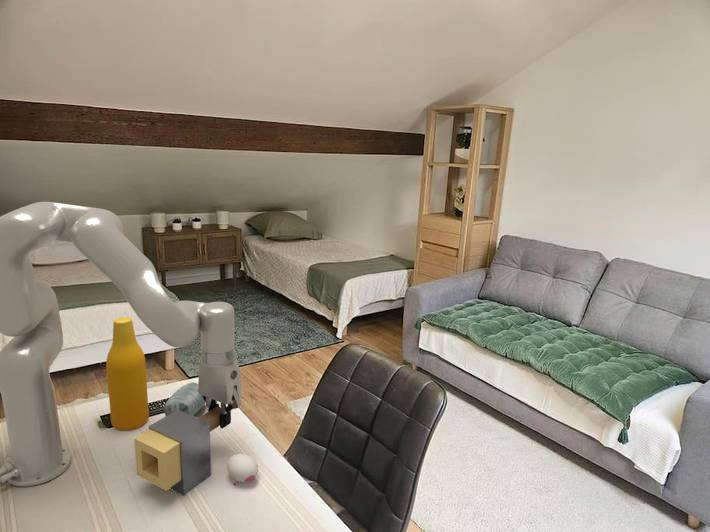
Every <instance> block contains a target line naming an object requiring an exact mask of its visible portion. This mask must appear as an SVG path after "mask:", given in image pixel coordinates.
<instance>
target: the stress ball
mask: <svg viewBox="0 0 710 532" xmlns="http://www.w3.org/2000/svg"><path fill="white" fill-rule="evenodd" d="M226 469H227V472H228V474H229V476H230V477H231V478H232V479H234V480H235V481H234V483H232V485H233V486H235V487H236V486H237V484H236V483H237V482H240V483H248V482H252V481H254V480H255V479H256V477H257V476H258V473H259V465H258V463H257V461H256V459H254V458H253V457H251V456H250V455H247V454H243V453H240V454H239V453H238V454H237V453H236V454H235V455H232V456H231V457H230V458H229V460H228V462H227V466H226Z"/></svg>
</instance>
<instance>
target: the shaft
mask: <svg viewBox="0 0 710 532" xmlns="http://www.w3.org/2000/svg"><path fill="white" fill-rule="evenodd" d="M220 413H222V412H221V406H220V405H219V406H217V407H215V408H214V409H212V410H210V411H209V412H208V411H207V412H206V413H204V414H203V415H201V416H200V417H198V418H199V419H201V420H204V421H206V422H208V423H210V433H211V432H212V431H214V430H215V429H217V428H218V427H220ZM154 459H156V460H158V458H156V457H154Z"/></svg>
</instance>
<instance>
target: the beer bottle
mask: <svg viewBox="0 0 710 532" xmlns="http://www.w3.org/2000/svg"><path fill="white" fill-rule="evenodd" d="M112 327H113V329H112V344H111V346H110V348H109V351H108V353H107V356H106V362H105V363H106V364H105V367H106V375H107V376H106V377H107V386H108V388H107V389H108V400H109V410H110V411H109V412H110V422H111V425H112V427H113V428H114V429H115V430H118V431H125V432H127V431H132V430H136V429H139V428H141V427H143V426H144V425H145V424H146V423H147V422H148V420H149V417H150V412H149V411H150V410H149V401H148V400H149V398H148V385H147V382H148V381H147V371H146V370H147V369H146V368H147V367H146V357H145V353H144V350H143V349H142V347H141V346H140V344H139V343H138V341H137V339H136V333H135V329H134V328H135V327H134V323H133V319H132V318H131V317H129V316H128V317H127V316H122V317H118V318H117V317H116V318H115V319H114V320H113V326H112Z"/></svg>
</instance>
